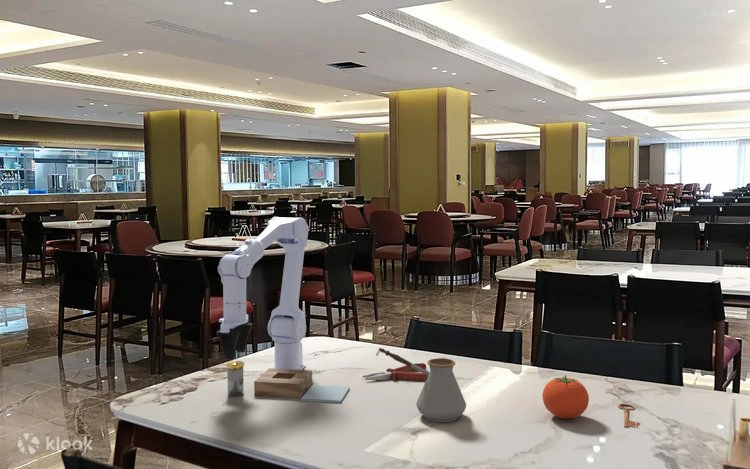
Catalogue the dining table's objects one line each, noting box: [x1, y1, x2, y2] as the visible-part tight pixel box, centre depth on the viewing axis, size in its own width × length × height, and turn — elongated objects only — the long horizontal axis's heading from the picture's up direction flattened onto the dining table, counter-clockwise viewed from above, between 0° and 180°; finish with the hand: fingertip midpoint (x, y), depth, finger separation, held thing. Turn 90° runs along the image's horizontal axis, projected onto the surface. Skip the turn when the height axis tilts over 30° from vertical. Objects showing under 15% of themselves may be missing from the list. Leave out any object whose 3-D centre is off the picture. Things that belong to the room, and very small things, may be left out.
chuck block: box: [253, 368, 313, 398], centre depth 172 cm, size 12×12×4 cm
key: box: [617, 403, 642, 429], centre depth 152 cm, size 6×1×15 cm
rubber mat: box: [300, 384, 351, 404], centre depth 168 cm, size 11×10×1 cm
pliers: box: [362, 362, 428, 382], centre depth 183 cm, size 12×20×3 cm, turn 107°
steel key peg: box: [225, 360, 245, 397], centre depth 168 cm, size 4×4×8 cm
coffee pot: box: [375, 347, 467, 423], centre depth 153 cm, size 21×12×15 cm, turn 72°
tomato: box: [541, 374, 590, 420], centre depth 151 cm, size 10×10×10 cm
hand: (235, 355), depth 168 cm, fingers open, 7 cm apart
